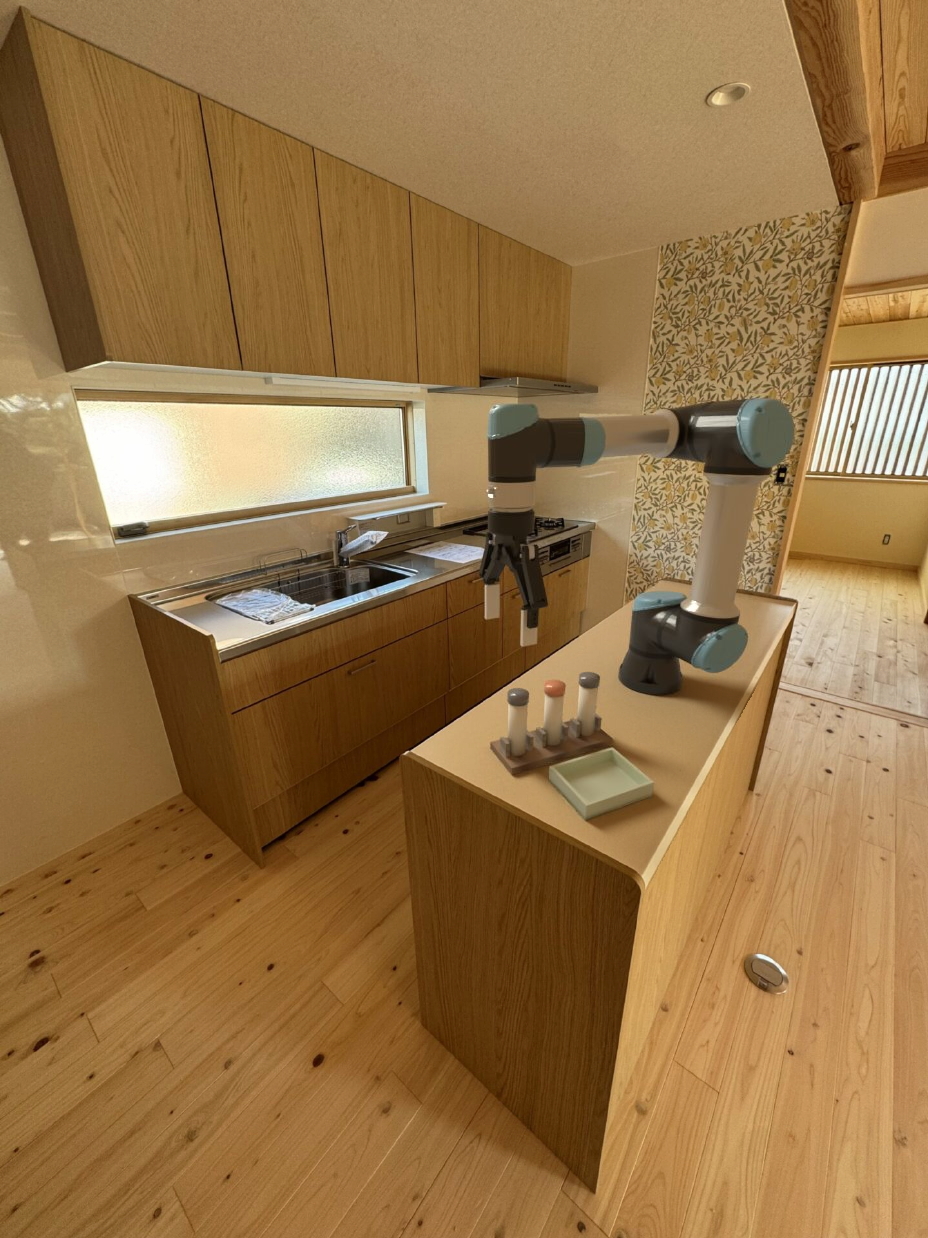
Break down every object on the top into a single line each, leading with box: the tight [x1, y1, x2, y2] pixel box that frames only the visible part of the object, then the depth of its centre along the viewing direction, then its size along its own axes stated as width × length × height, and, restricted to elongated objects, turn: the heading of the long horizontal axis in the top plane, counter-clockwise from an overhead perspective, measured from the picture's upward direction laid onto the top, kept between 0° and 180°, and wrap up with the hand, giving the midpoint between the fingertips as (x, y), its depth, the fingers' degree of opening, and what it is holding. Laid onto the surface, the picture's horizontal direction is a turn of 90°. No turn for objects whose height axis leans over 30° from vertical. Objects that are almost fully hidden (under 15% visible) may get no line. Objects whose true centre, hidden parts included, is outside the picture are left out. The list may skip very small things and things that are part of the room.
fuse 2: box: [576, 671, 601, 736], centre depth 100 cm, size 4×4×13 cm
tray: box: [548, 747, 655, 821], centre depth 88 cm, size 14×11×3 cm
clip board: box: [489, 713, 614, 776], centre depth 99 cm, size 23×9×4 cm, turn 113°
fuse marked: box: [542, 679, 567, 746], centre depth 97 cm, size 4×4×13 cm
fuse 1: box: [506, 687, 530, 756], centre depth 94 cm, size 4×4×13 cm
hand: (509, 630), depth 88 cm, fingers open, 13 cm apart
